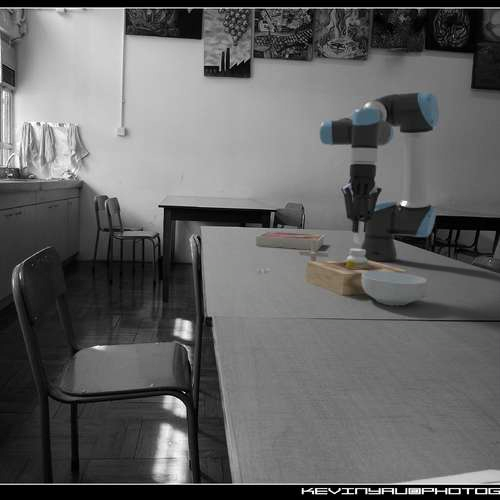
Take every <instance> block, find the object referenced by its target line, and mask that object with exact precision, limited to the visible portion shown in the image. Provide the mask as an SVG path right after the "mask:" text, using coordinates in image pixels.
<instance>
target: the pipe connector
mask: <svg viewBox="0 0 500 500" xmlns="http://www.w3.org/2000/svg"><path fill="white" fill-rule="evenodd" d="M299 256H307V257H310V262H312V261H317V257H320V258H321V257H323V258H324V257H325V258H328V257H329V252H328V251H322V250H321V251H320V250H317V240H312V249H311V250H305V249H299Z"/></svg>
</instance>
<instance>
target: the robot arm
mask: <svg viewBox="0 0 500 500" xmlns="http://www.w3.org/2000/svg"><path fill="white" fill-rule="evenodd" d="M439 117H440V110H439V104H438V99H437V98H436V95H434V94H433V92H422V91H421V92H408V93H393V94H387V95H384V96H381V97H379V98H376V99H373V100H371V101H369V102H367V103H366V104H365V105H364V106H363V107H362V108H357V109H355V110H354V112H352V113H351V114H349V115H348V114H347V115H346V116H344V117H341V118H339V119H337V120H325V121H323V122H322V123H321V125H320V128H319V139H320V142H321V143H322V144H323V145H328V146H329V145H331V146H335V145H337V146H339V145H340V146H341V145H342V146H343V145H346V146H348V145H349V146H350V145H351V149H350V150H351V151H350V162H351V163H350V165H349V177H350V178H349V180H348V184H347V185H345V186H341V192H342V194H343V198H344V206H345V212H346V218H347V219H348V220H350V221H352V227H351V228H352V229H351V230H352V233H353V239H352V240H353V241H352V242H353V244H357V245H361V247H360V249H363V250H366V254H365V257H366V258H367V260H369V261H373V262H395V261H397V259H398V253H397V249H396V245H395V236H405V237H414V238H427V237H429V235H431V233H432V231H433V228H434V225H435V220H436V218H437V216H436V215H437V209H436V208H435V207H432V202H431V200H430V199H428V172H429V171H428V170H429V168H428V164H429V135H430V134H431V133H432V132H433V131H434V127H436V126H438V124H439ZM395 127H398V128H399V133H400V134H401V135H402V136H403V199H401V200H400V201H399V205H398V203H397V202H396V201H388V202H387V201H386V202H384V201H383V202H378V199H379V195H380V194H381V192H382V190H383V189H382V188H381V187H378V186H377V185H376V181H375V178H376V175H377V165H376V163H377V162H378V152H379V151H378V149H379V147H381V146H385V145H388V144H389V143H390V142H391V141H392V140H393V137H394V129H393V128H395Z"/></svg>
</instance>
